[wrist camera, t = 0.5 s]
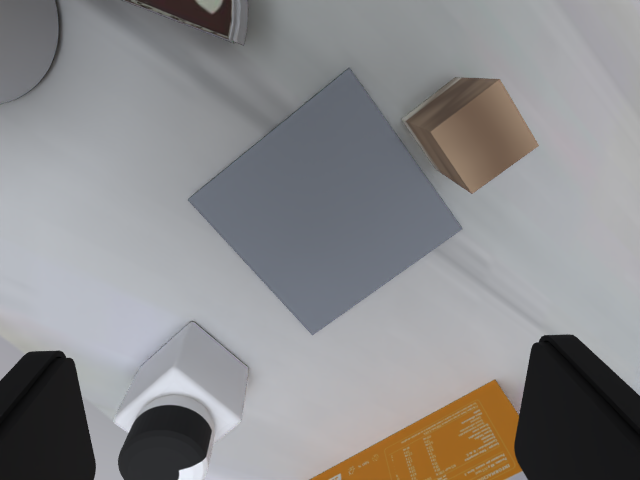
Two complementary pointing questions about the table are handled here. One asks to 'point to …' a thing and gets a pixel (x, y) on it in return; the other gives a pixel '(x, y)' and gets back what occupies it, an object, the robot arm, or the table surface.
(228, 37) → the food container
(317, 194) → the mat
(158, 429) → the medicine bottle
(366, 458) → the cereal box
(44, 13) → the cylinder vase
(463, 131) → the walnut block
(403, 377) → the table surface
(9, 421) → the robot arm
